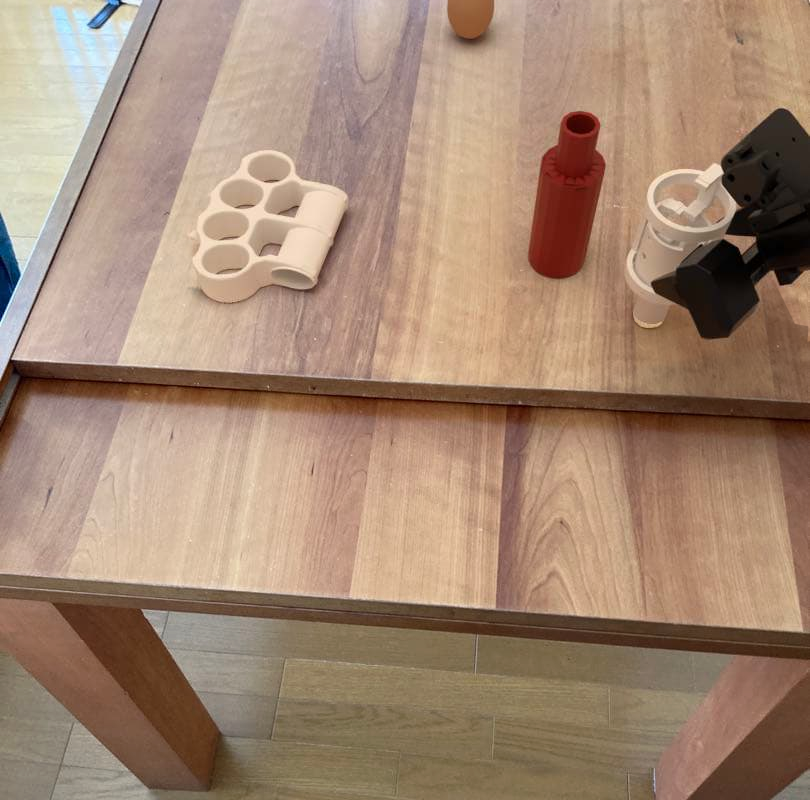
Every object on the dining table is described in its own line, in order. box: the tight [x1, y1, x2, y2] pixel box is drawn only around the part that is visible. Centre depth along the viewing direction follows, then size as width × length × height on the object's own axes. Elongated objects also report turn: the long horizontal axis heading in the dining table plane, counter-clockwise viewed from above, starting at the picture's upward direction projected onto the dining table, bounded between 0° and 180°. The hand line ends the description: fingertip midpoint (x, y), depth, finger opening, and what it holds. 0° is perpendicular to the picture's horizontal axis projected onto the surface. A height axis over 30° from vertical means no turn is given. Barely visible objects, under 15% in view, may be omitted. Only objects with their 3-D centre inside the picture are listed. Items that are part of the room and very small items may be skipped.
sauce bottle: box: [527, 110, 607, 279], centre depth 75 cm, size 6×6×15 cm
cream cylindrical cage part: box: [623, 162, 737, 324], centre depth 72 cm, size 7×7×15 cm
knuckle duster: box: [185, 149, 350, 304], centre depth 83 cm, size 3×18×15 cm
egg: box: [446, 0, 495, 40], centre depth 94 cm, size 5×5×7 cm
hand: (686, 256), depth 70 cm, fingers open, 9 cm apart
